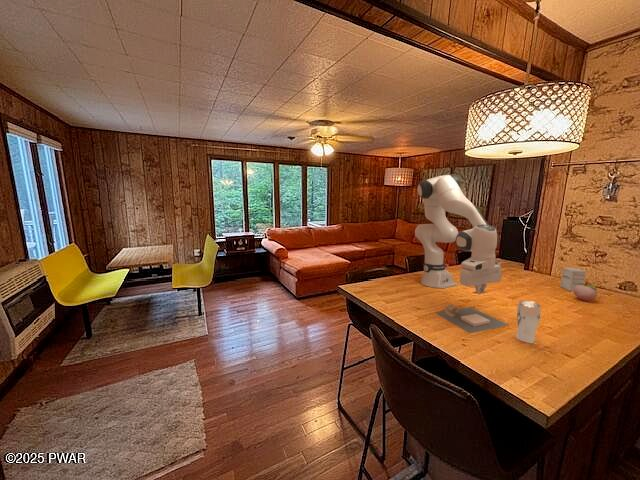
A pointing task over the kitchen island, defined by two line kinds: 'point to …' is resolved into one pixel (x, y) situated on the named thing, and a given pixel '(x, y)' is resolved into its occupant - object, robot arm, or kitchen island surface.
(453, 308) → the beech cube
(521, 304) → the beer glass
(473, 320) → the tile
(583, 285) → the decorative fruit
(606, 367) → the kitchen island surface
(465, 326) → the mat
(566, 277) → the supplement box
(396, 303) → the kitchen island surface
